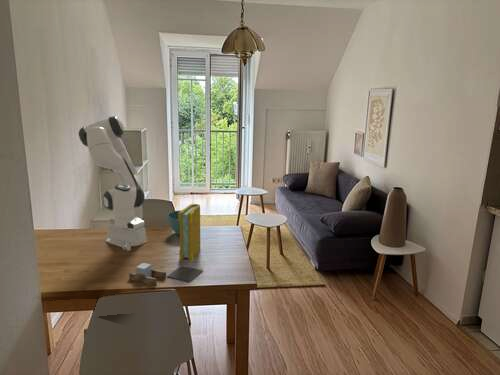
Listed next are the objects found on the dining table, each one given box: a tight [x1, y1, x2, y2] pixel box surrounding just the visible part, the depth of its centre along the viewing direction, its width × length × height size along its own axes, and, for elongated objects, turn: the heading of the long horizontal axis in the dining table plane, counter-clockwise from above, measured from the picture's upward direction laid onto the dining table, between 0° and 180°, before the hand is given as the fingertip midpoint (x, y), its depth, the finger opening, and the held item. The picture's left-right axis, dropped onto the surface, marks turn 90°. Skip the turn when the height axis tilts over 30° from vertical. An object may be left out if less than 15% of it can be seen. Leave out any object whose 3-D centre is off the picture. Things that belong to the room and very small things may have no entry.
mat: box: [166, 265, 204, 283], centre depth 175 cm, size 12×12×1 cm
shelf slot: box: [128, 268, 167, 287], centre depth 169 cm, size 14×8×3 cm, turn 68°
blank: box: [135, 262, 153, 277], centre depth 170 cm, size 4×5×6 cm
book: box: [178, 203, 201, 261], centre depth 195 cm, size 17×7×25 cm, turn 168°
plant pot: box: [167, 209, 181, 236], centre depth 226 cm, size 18×18×12 cm
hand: (127, 249), depth 170 cm, fingers closed
